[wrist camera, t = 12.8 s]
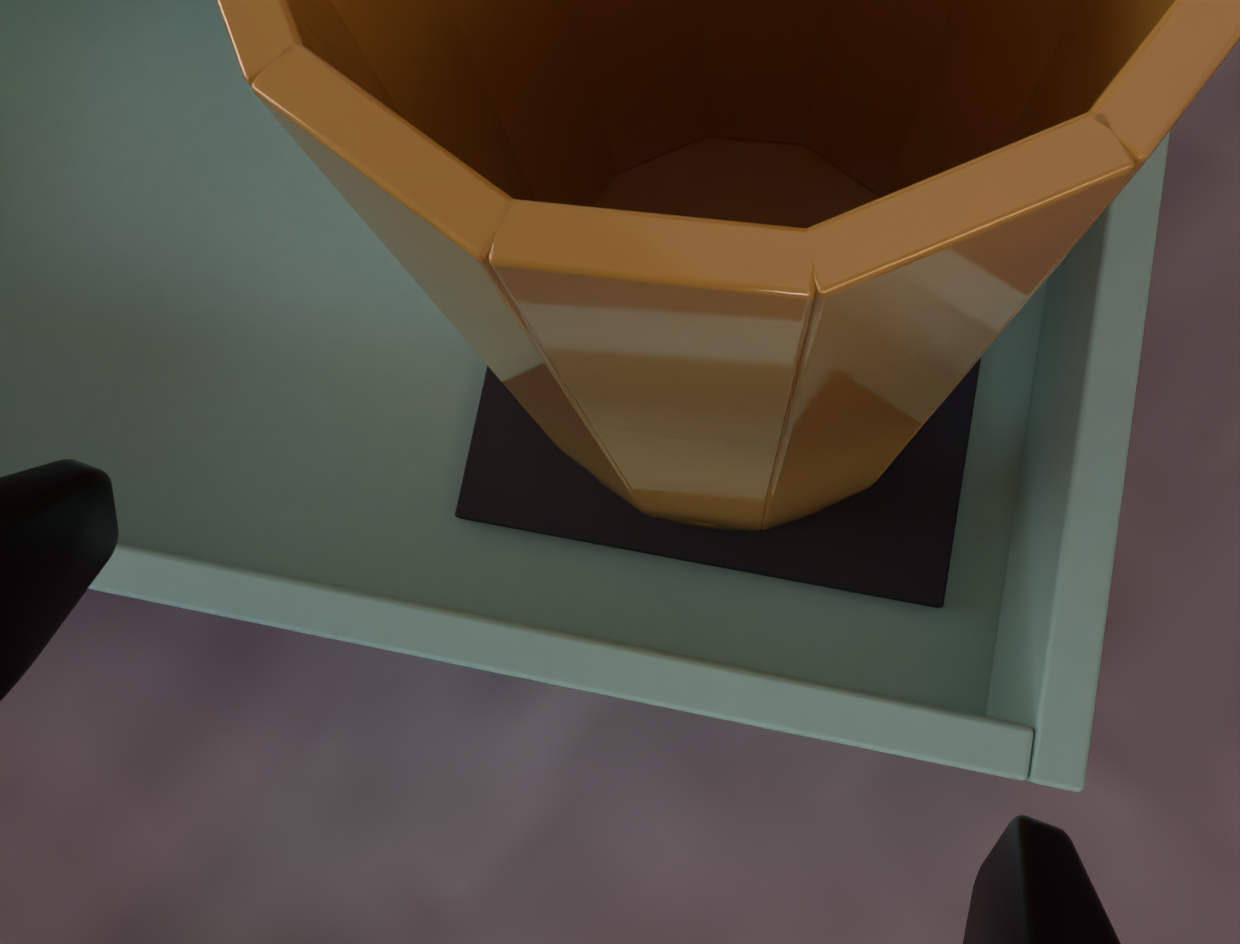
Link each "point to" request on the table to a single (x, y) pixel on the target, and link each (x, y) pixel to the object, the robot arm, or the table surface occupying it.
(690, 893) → the table surface
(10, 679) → the robot arm
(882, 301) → the cup
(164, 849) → the table surface
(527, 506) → the mat
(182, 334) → the green tray
